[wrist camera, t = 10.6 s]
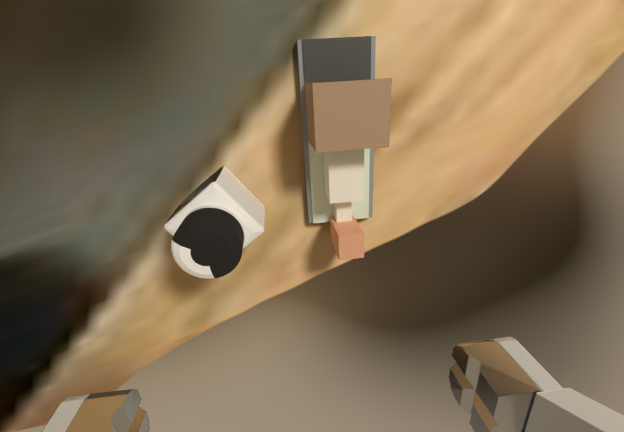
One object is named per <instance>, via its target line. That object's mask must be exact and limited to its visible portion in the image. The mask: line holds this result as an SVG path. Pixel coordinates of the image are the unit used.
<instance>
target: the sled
mask: <svg viewBox="0 0 624 432" xmlns="http://www.w3.org/2000/svg"><path fill="white" fill-rule="evenodd" d="M323 157H324V181H325V195H326V197H327V199H328V201H329V203H330V204H333V203H334V216H333V217H330V230H331V240H332V243H333V246H334V248H335V251H336V253H337V256H338V258H339V260H346V259H355V258H363V257H364V232H363V231H362V229H361V227H360V226H359V224H358V223H357V221H356V219H355V218H354V216H353V215H352V202H354V201H364V149H358V150H346V151H333V152H323Z"/></svg>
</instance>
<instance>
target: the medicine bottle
mask: <svg viewBox="0 0 624 432" xmlns="http://www.w3.org/2000/svg"><path fill="white" fill-rule="evenodd" d="M264 221H265V206H264V205H263V204H262V203H261V202H260V201H259V200H258V199H257V198H256V197H255V196H254V195H253V194H252V193H251V192H250V191H249V190H248V189H247V188H246V187H245V186H244V185H243V184H242V183H241V182H240V181H239V180H238V179H237V178H236V177H235V176H234V175H233V174H232V173H231V172H230V171H229V170H228V169H227V168H226V167H225V166H222V167H220V168H219V169H218V170H217V171H216V172H215V173H214V174H212V175H211V176H210V177H209V178H208V179H207V180H206V181H205V182H203V183H202V184H201V185H200V186H199V187H198V188H197V189H196V190H195V191H193V192H192V193H191V194H190V195H189V196H188V197H187V198H186V199H185V200H183V201H182V202H181V204H180V205H179V206H178V208H177V209H176V210H175V212H174V213H173V214H172V216H171V217H170V218H169V220H168V221H167V222H166V224H165V225H164V229H165V230H166V231H167V232H169V233H170V234H171V235H172V236H173V238H172V243H171V251H172V255H173V258H174V260H175V261H176V263H177V264H178V265H179V267H180V268H182V269H183V270H184V271H185V272H187V273H188V274H190V275H193V276H195V277H199V278H205V279H212V278H218V277H222V276H224V275H226V274H228V273H230V272H231V271H232V270H233V269H234V268H235V267H236V266H237V265H238V263H239V261H240V259H241V255H242V250H243V249H244V248H245V247H246V246H248V245H249V244H250V243H251V242H252V241H254V240H255V239H256V238H257V237H258V236H260V235H261V234H262V233H263V232H264Z"/></svg>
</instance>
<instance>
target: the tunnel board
mask: <svg viewBox="0 0 624 432" xmlns="http://www.w3.org/2000/svg"><path fill="white" fill-rule="evenodd" d="M375 39H376V36H366V37H345V38H325V39H304V40H297V56H298V71H299V86H300V102H301V117H302V133H303V148H304V163H305V179H306V194H307V210H308V221H309V223H323V222H330V217H333V216H334V203H333V204H330V203H329V201H328V199H327V197H326V195H325V181H324V157H323V152H333V151H346V150H358V149H364V201H354V202H352V215H353V216H354V218H355V219H363V218H369V217H372V198H373V148H383V147H389V136H390V109H391V83H392V78H387V79H375Z"/></svg>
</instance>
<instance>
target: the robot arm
mask: <svg viewBox="0 0 624 432" xmlns="http://www.w3.org/2000/svg"><path fill="white" fill-rule="evenodd" d="M452 357H453V358H454V360H455V361H456V362H455V363H454V364H453V365H452V366H451V367H450V373H449V380H450V385H451V390H452V392H453V394H454V397H455V399H456V400H457V402H458V404H459V406H460V407H462V408H463V409H464V410H466V411H467V412H469V413H470V425H471V426H472V428H473V430H474V431H475V432H624V416H623V415H621V414H619V413H617V412H615V411H613V410H611V409H610V408H607V407H606V406H604V405H602V404H600V403H598V402H596V401H594V400H592V399H590V398H588V397H586V396H584V395H582V394H580V393H578V392H576V391H575V390H573V389H571V388H562V387H561V386H560V385H559V384H558V383H557V382H556V381H555V379H554V378H553V377H552V376H551V375H550V374H549V373H548V372H547V371H546V370H545V369H544V368H543V367H542V366H541V365H540V364H539V363H538V362H537V361H536V360H535V359H534V358H533V357H532V356H531V355H530V354H529V353H528V352H527V351H526V350H525V349H524V347H523V346H522V345H521V344H520V343H519V342H518V341H517V340H515V339H514V338H512V337H505V338H498V339H492V340H483V341H476V342H469V343H463V344H457V345H455V346H454V348H453V352H452ZM140 402H141V397H140V394H139V392H138V390H137V389H136V390H135V389H131V390H122V391H113V392H104V393H95V394H88V395H80V396H71V397H68V398H67V399H65V400H64V401H63V402H62V403H61V404H60V405H59V407H58V408H57V410H56V411H55V413H54V414H53V416H52V417H51V419H50V420H49V422H48V423H47V425H46V426H45V428H44V429H43V431H42V432H149V418H148V416H147V413H146V411H144V410H143V409H141V408H139V407H138V406H139V404H140Z"/></svg>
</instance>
